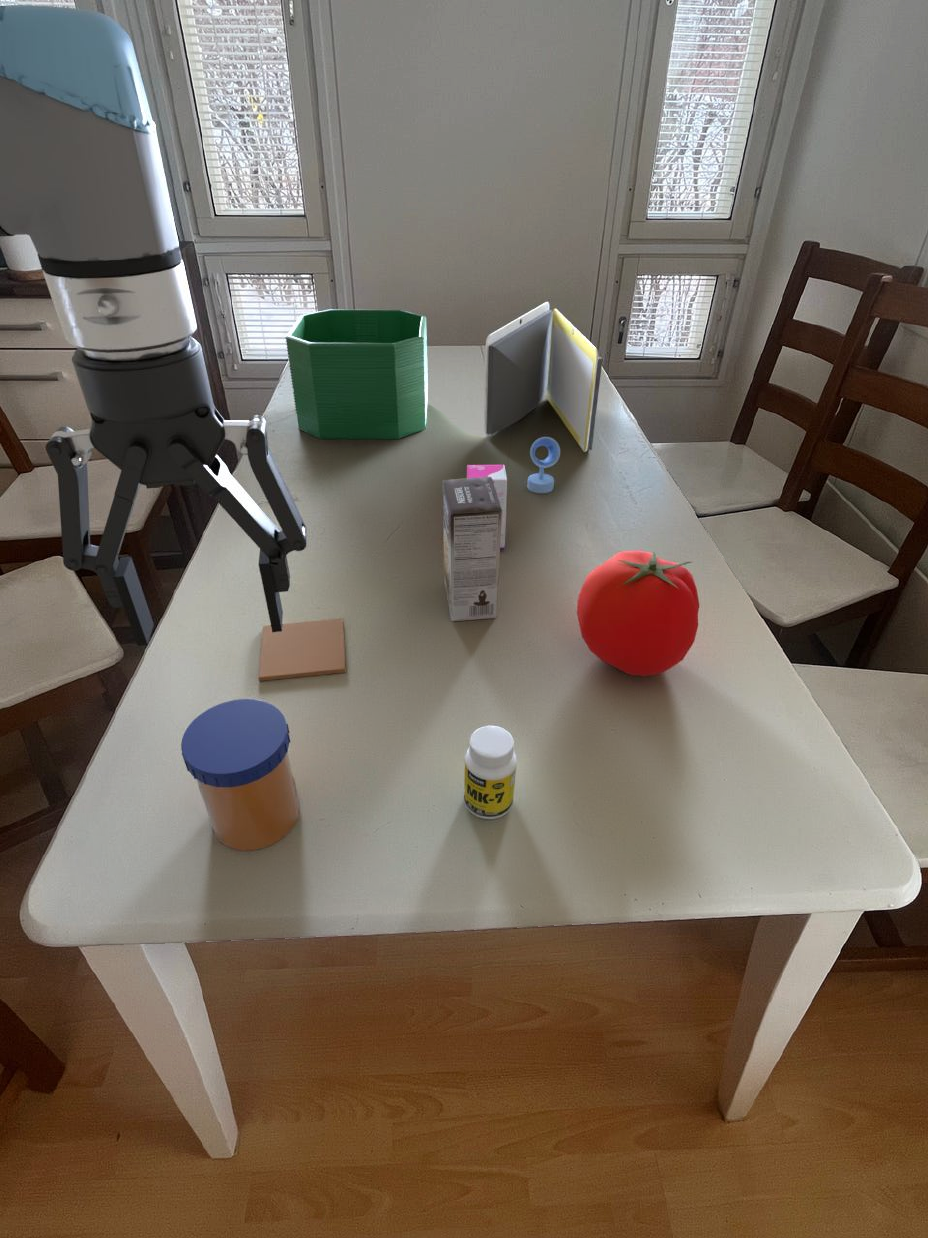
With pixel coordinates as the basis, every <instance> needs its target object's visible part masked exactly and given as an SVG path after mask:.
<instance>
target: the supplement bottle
mask: <svg viewBox="0 0 928 1238" xmlns="http://www.w3.org/2000/svg"><path fill="white" fill-rule="evenodd" d="M516 773H517V755H516V752H515V741H514V738H513V736H512V734H511V733H510V732H509V731H508V730H507V729H505V728H503V727H500V726H496V725H485V726H482V727H479V728H477V729H476V730H475V731H473V733H472V734H471V736H470V738H469V746H468V748H467V750H466V752H465V756H464V776H463V777H464V779H463V781H464V782H463V801H464V805H465V807H466V809H467V810H468V812H470V813H471V814H472V815H474V816H475V817H477V818H479V819H483V820H494V819H499V818H502V817H504V816H505V815H506V814H507V813H508V812H509V811H510V810H511V808H512V806H513V803H514V796H515V795H514V793H515V785H516V775H517V774H516Z"/></svg>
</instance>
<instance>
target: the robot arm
mask: <svg viewBox="0 0 928 1238" xmlns="http://www.w3.org/2000/svg"><path fill="white" fill-rule="evenodd" d="M139 66H140V65H139V63H138V59H137V54H136V50H135V47H134V43H133V41H132V40H131V37H130V36H129V34H128V33H127V31H125V30H124V28H123V27H122V26H121V25H120V23H119V22H117V21H116V20H115V19H113V18H112V17H110V16H108V15H107V14H105V13H102V12H99V11H94V10H89V9H83V8H75V7H64V6H52V5H32V4H29V5H28V4H8V5H0V237H14V236H18V235H19V236H20V235H23V236H24V235H26V236H29V238H30V241H31V242H32V244H33V246H34V248H35V251H36V253H37V258H38V261H39V264H40V268H41V270H42V273H43V277H44V280H45V282H46V286H47V288H48V292H49V294H50V297H51V300H52V304H53V307H54V309H55V312H56V315H57V319H58V322H59V324H60V326H61V330H62V333H63V337H64V339H65V341H66V342H67V343H68V344H70V345H71V346H73V347H74V348H76V349H75V351H74V352H73V355H72V356H71V362H72V366H73V369H74V371H75V375H76V377H77V380H78V383H79V386H80V389H81V392H82V395H83V398H84V401H85V405H86V408H87V411H88V413H89V415H90V419H91V420H90V421H91V423H90V424H91V425H90V428H86V429H79V430H73V429H72V428H70V427H68V426H60V427H58V428H57V429H56V430H55V431H54V433H53V434H52V435H51V437H50V438H49V440H48V441H47V442H46V444H45V451H46V453H47V456H48V458H49V460H50V462H51V464H52V466H53V468H54V469H55V472H56V475H57V484H58V487H57V488H58V503H59V517H60V532H61V546H62V547H61V548H62V563H63V566H64V567H65V568H66V569H67V570H69V571H72V572H76V571H79V570H81V569H84V570H89V571H92V572H94V573H95V574H97V576H98V578H99V581H100V584H101V586H102V588H103V591H104V594H105V596H106V599H107V601H108V603H109V605H110V606H111V607H112V608H113V609H118V608H123V609H124V612H125V615H126V618H127V620H128V623H129V626H130V629H131V631H132V634H133V636H134V640H135V643H136V645H137V647H143V646H149V643H150V639H151V635H152V631H153V628H154V626H155V625H154V621H153V618H152V615H151V612H150V609H149V606H148V604H147V600H146V597H145V593H144V591H143V589H142V585H141V582H140V579H139V576H138V574H137V571H136V567H135V564H134V561H133V558H132V556H123V557H120V558H119V557H118V556H119V554H120V551H121V547H122V544H123V541H124V539H125V538H124V537H125V535H126V531H127V528H128V526H129V521H130V519H131V516H132V512H133V509H134V506H135V503H136V501H137V497H138V494H139V490H140V487H141V485H142V486H145V487H146V489H147V490H148V489H159V488H162V487H165V486H168V485H172V486H173V485H174V486H179V487H189V486H195V484H197V485H198V487H200V489H201V490H202V491H203V492H204V494H206V495H207V496H209V497H212V498H213V499H214V500H215V501H216V502H217V503H218V504H219V505H220V507H221V508H222V509H223V510H224V511H225V512H226V513H227V515H229V516H230V517H231V518H232V520H233V521H234V522H235V523H236V524H237V525H238V527H240V529H242V531H243V532H244V533H245V534H246V535H247V536H248V537H249V538H250V539H251V541H252V542H253V543H254V544H255V545H256V546H257V547H258V548H259V556H258V569H259V574H260V579H261V583H262V588H263V594H264V597H265V603H266V608H267V612H268V613H267V614H268V618H269V622H270V625H271V628H272V632H281V631H282V624H283V619H284V618H283V617H284V616H283V614H284V612H283V606H282V605H283V604H282V599H281V594H280V593H285V592H289V590H290V586H291V574H290V568H289V562H288V554H290V553H292V552H294V551H295V552H302V551H303V550H305V549H306V548H307V525H306V523H305V521H304V519H303V517H302V515H301V513H300V511H299V508H298V506H297V504H296V502H295V500H294V498H293V496H292V494H291V492H290V490H289V486H288V485H287V483H286V481H285V479H284V477H283V475H282V473H281V470H280V468H279V466H278V464H277V462H276V460H275V458H274V456H273V454H272V452H271V450H270V447H269V440H268V439H269V438H268V427H267V421H266V420H265V419H266V418H264V417H263V416H261V415H258V414H256V415H255V414H254V415H252V416H251V417H249V419H248V420H225V419H224V417H223V416H222V415H221V414H220V412H219V411H218V410H217V408H216V406H215V402H214V399H213V395H212V391H211V386H210V380H209V376H208V371H207V367H206V363H205V357H204V353H203V347H202V345H201V343H199V342H198V341H197V340H196V339H195V338H194V337H193V334H195V332H196V331H197V330H198V324H197V320H196V315H195V310H194V306H193V301H192V296H191V291H190V288H189V287H190V286H189V283H188V278H187V273H186V269H185V264H184V260H183V258H182V254H181V248H180V244H179V238H178V234H177V229H176V224H175V219H174V214H173V209H172V205H171V200H170V199H171V198H170V194H169V190H168V184H167V179H166V175H165V174H166V173H165V169H164V164H163V159H162V154H161V149H160V144H159V139H158V135H157V134H158V133H157V128H156V122H154V121H153V118H152V114H151V110H150V109H151V108H150V105H149V101H148V97H147V94H146V90H145V86H144V83H143V79H142V73H141V70H140V67H139ZM225 441H230V442H232V443H233V445H234V446H235V449H236V451H237V452H238V453H240V454H241V455H244V456H247V457H248V458H247V459H248V462H249V466H250V468H251V470H252V473H253V475H254V477H255V479H256V481H257V482H258V485H259V487H260V489H261V490H262V493H263V495H264V497H265V499H266V501H267V503H268V505H269V507H270V509H271V510H272V513H273V515H274V517H275V519H276V520H277V523H278V524H279V527H280V528H281V530H280V529H279V528H278V527H277V526H276V525H275V523H274V522H273V521H272V520H271V518H269V516H267V514H266V513H265V512H264V511H263V510H262V508H261V507H260V506H259V505H258V504H257V503H256V501H255V500H254V499H253V498H252V497H251V495H249V494H248V492H247V491H246V490H245V489H244V488H243V486H242V485H241V484H240V483H239V482H238V481H237V480H236V478H235V477H234V476H233V475H232V473H230V470H229V468H228V466H227V465H226V463H225V462H224V461H223V460H222V459H221V457H220V456H219V455H218V453H219V451H220V449H221V447H222V445H223V444H224V442H225ZM92 449H95V450H96V451H98V452H99V453H100V454H101V455H102V456H103V457H104V458H105V459H107V460H108V461H109V462H111V464H113V465H114V466H116V467H117V469H119V470H120V474H119V478H118V481H117V484H116V487H115V491H114V493H113V494H114V495H113V499H112V503H111V506H110V508H109V512H108V515H107V519H106V523H105V526H104V529H103V532H102V536H101V539H100V543H99V546H98V545H93V544H91V530H90V527H91V525H90V503H89V500H90V499H89V477H88V472H89V471H88V462H89V461H90V460H91V458H92V454H93V453H92V452H93V451H92Z"/></svg>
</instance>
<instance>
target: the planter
mask: <svg viewBox="0 0 928 1238" xmlns="http://www.w3.org/2000/svg"><path fill="white" fill-rule="evenodd" d="M427 335H428V333H427V317H426V316H424V315H421V314H417V313H414V312H410V311H407V310H403V309H326V310H325V309H324V310H322V311H321V310H320V311H316V312H311V313H306V314H302V315H299V317H298V319H297V320H296V321H295V323H294V325H292V327H291V329H290V330H289V332H288V333H287V335H286V336H285V343H286V349H287V350H286V352H287V358H288V363H289V366H288V367H289V373H290V379H291V387H292V390H293V392H292V394H293V401H294V408H295V414H296V419H297V427H298V429H299V430H300V431H303V432H305V433H308V434H309V435H312V436H314V437H316V438H318V439H320V440H400V439H403V438H405V437H408V436H411V435H414V434H416V433H419V432H421V431H424V430H426V428H427V418H428V417H427V415H428V403H429V400H428V398H429V396H428V392H429V379H428V343H427V341H428V340H427V339H428V338H427Z"/></svg>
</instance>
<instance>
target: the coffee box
mask: <svg viewBox="0 0 928 1238" xmlns="http://www.w3.org/2000/svg"><path fill="white" fill-rule="evenodd" d="M442 513H443V515H442V517H443V519H442V520H443V521H442V522H443V523H442V525H443V582H444V588H445V594H446V599H447V600H446V601H447V605H448V610H449V611H448V612H449V618H450V621H451V622H460V621H461V622H462V621H472V620H473V621H474V620H485V619H486V620H487V619H496V618H497V617H498V599H499V597H498V596H499V595H498V594H499V578H500V577H499V575H500V562H501V561H500V559H501V558H500V557H501V551H500V545H501V525H502V508H501V504H500V502H499V498H498V495H497V492H496V489H495V486H494V483H493V480H492V478H491V477H480V478H467V477H465V478H463V477H462V478H456V479H443V480H442Z"/></svg>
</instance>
